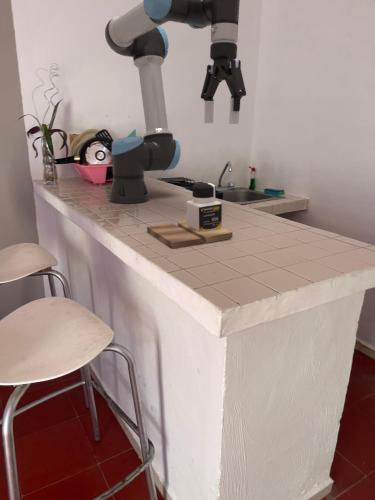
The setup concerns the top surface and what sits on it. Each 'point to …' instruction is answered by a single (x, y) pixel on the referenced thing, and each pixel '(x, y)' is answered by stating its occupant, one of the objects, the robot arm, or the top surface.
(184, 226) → the plank
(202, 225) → the medicine bottle
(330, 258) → the top surface
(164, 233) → the laid board
